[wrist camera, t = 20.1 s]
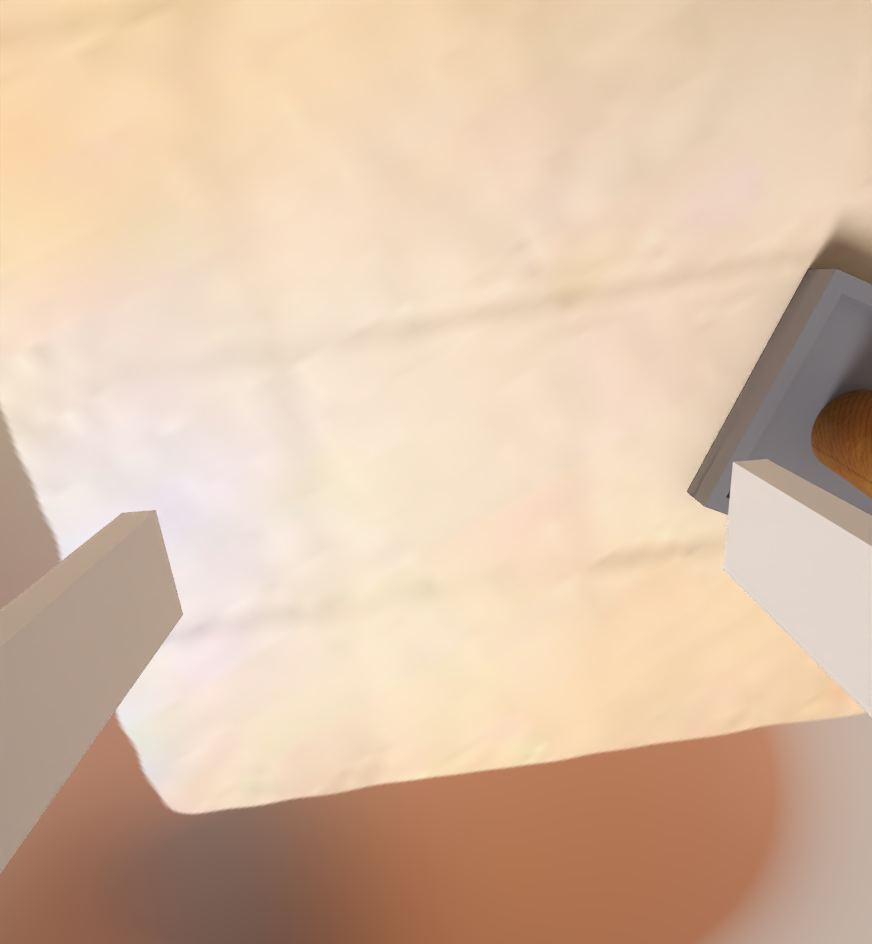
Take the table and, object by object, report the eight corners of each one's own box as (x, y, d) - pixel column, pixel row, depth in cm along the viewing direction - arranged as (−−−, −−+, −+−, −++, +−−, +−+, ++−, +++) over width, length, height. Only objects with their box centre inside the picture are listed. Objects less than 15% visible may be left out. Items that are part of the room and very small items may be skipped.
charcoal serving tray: (808, 269, 41) (836, 268, 38) (1012, 357, 43) (1053, 363, 40) (686, 491, 46) (704, 506, 43) (874, 559, 49) (902, 577, 46)
